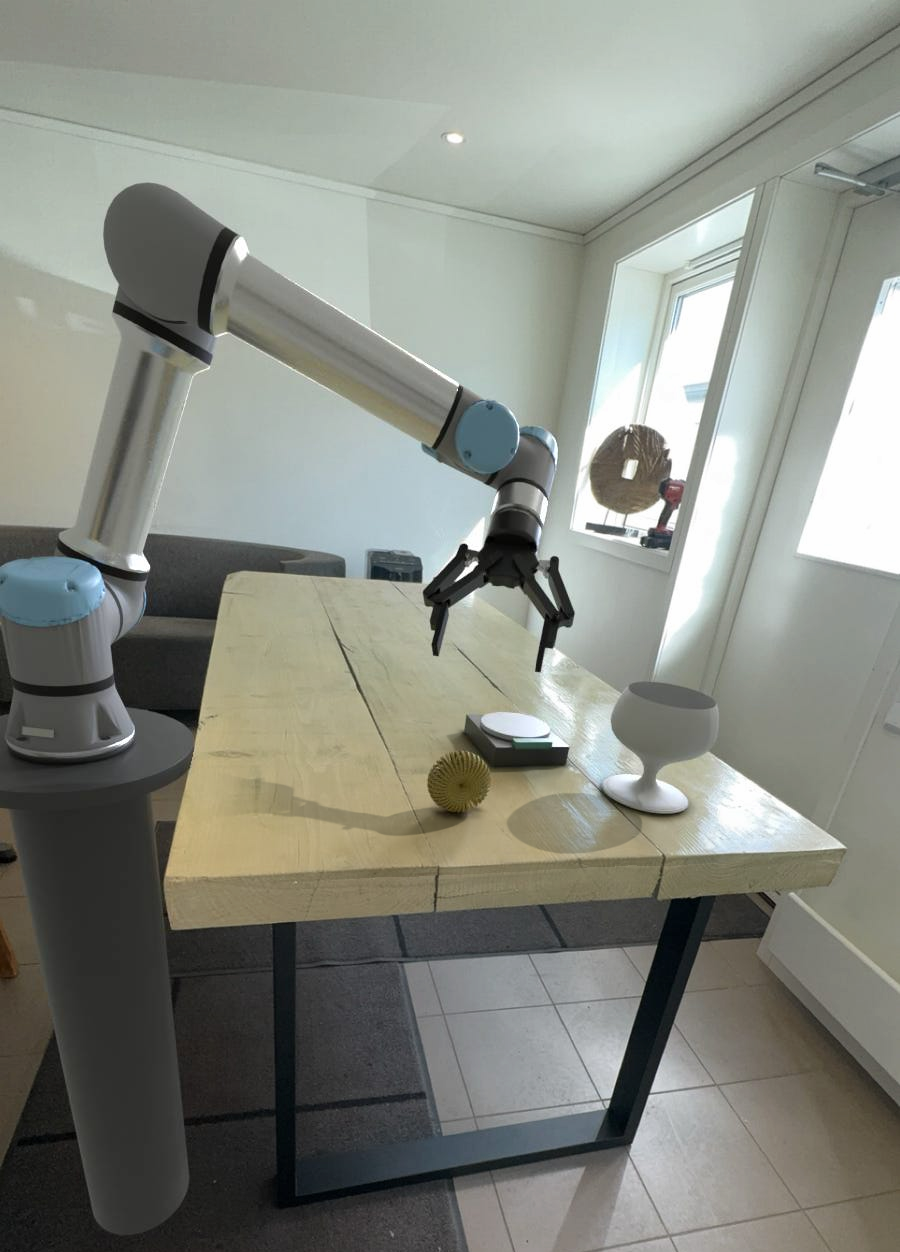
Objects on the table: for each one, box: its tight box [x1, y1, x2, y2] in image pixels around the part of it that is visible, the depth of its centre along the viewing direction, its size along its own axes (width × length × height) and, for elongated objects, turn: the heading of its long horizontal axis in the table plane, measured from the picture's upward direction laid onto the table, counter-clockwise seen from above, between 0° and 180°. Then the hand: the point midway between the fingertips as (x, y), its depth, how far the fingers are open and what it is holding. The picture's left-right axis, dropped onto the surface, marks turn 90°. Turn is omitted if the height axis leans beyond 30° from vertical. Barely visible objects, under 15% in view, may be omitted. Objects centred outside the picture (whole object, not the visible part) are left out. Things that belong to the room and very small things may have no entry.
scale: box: [463, 711, 570, 767], centre depth 104 cm, size 14×12×4 cm
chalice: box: [601, 681, 720, 814], centre depth 90 cm, size 14×14×15 cm
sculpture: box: [426, 750, 492, 813], centre depth 81 cm, size 8×4×8 cm, turn 102°
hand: (486, 658), depth 85 cm, fingers open, 13 cm apart
